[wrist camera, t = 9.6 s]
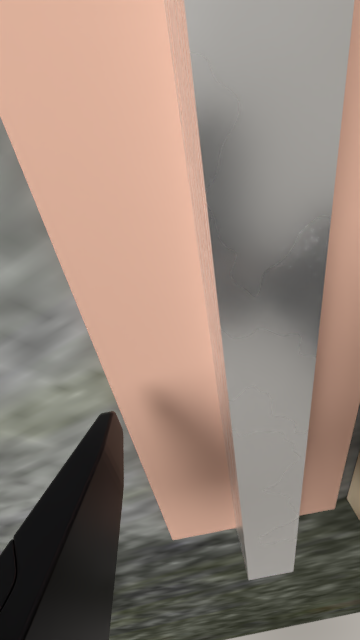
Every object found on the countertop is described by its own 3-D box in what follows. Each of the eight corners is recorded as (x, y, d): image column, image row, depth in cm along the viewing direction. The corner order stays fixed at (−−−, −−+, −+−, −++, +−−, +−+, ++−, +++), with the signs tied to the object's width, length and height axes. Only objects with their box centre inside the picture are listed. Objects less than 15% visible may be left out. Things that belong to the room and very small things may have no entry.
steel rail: (275, 520, 16) (293, 571, 14) (236, 527, 16) (248, 580, 14) (291, -481, 3) (517, -1519, 1) (102, -439, 3) (25, -1423, 1)
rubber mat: (330, 501, 17) (334, 508, 16) (172, 532, 17) (172, 540, 16) (541, -467, 4) (581, -533, 3) (-167, -325, 4) (-200, -376, 3)
